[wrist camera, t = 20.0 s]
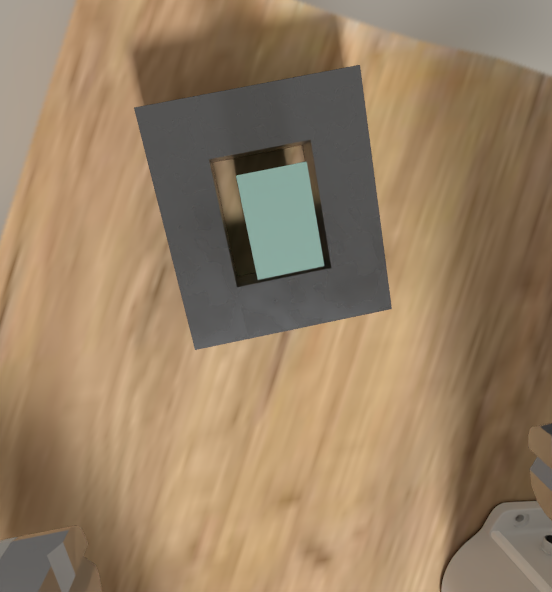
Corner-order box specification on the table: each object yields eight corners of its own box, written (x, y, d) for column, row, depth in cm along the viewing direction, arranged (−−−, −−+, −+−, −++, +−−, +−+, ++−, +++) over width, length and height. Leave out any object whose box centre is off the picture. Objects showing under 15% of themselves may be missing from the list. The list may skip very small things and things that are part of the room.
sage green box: (287, 168, 35) (306, 161, 25) (301, 244, 36) (324, 265, 26) (236, 178, 34) (235, 175, 25) (252, 254, 36) (257, 279, 26)
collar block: (345, 79, 33) (359, 64, 29) (375, 296, 38) (391, 308, 34) (146, 117, 33) (133, 107, 29) (199, 332, 37) (195, 349, 33)
